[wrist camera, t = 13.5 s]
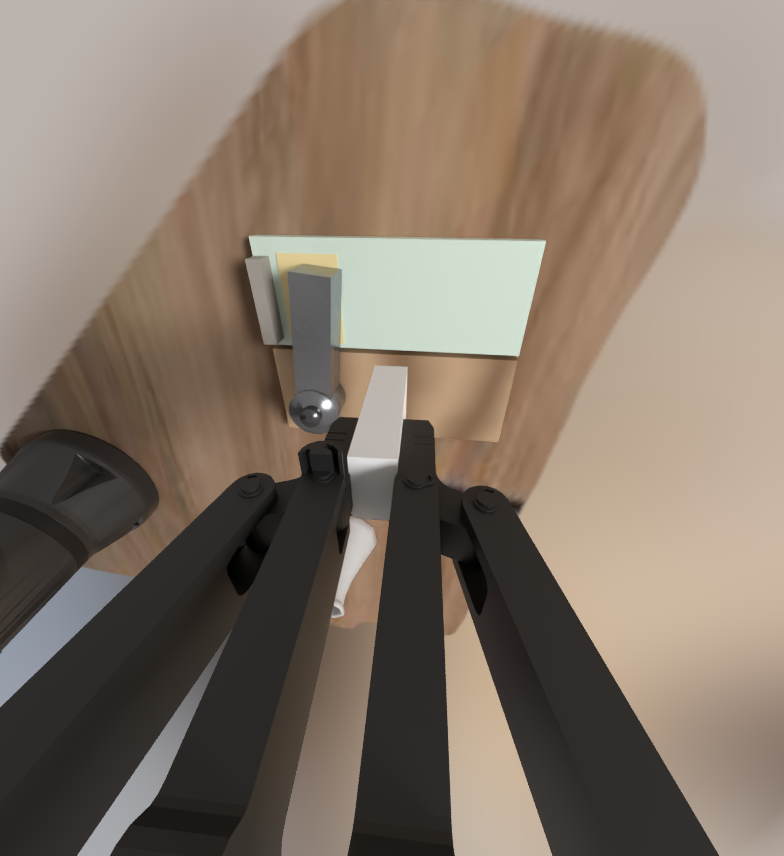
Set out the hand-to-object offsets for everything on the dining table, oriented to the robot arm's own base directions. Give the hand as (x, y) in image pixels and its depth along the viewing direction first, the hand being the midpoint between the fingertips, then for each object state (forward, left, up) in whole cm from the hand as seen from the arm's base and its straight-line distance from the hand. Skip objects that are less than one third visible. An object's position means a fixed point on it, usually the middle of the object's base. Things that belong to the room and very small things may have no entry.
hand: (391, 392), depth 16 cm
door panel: (-1, +1, -13) cm, 13 cm away
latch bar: (-7, -3, -11) cm, 13 cm away
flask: (-7, -28, -13) cm, 31 cm away
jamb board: (-1, -7, -13) cm, 14 cm away
